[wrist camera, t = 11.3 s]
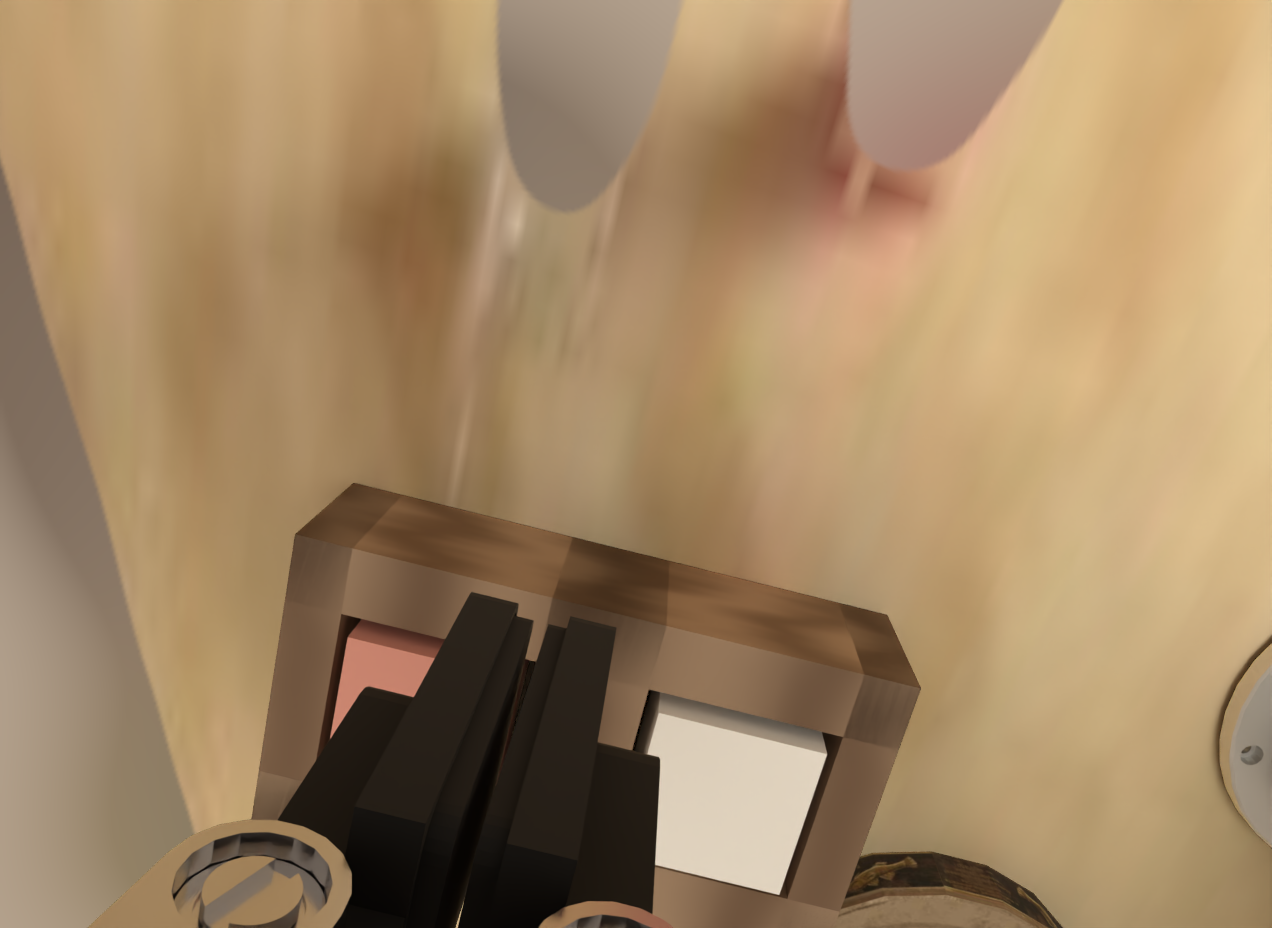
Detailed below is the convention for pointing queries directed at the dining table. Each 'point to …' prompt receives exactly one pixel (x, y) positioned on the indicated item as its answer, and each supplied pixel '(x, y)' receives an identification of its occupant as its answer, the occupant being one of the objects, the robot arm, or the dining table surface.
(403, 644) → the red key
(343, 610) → the frame
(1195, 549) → the dining table surface
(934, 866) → the brown flat disc
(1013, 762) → the dining table surface
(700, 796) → the white block
